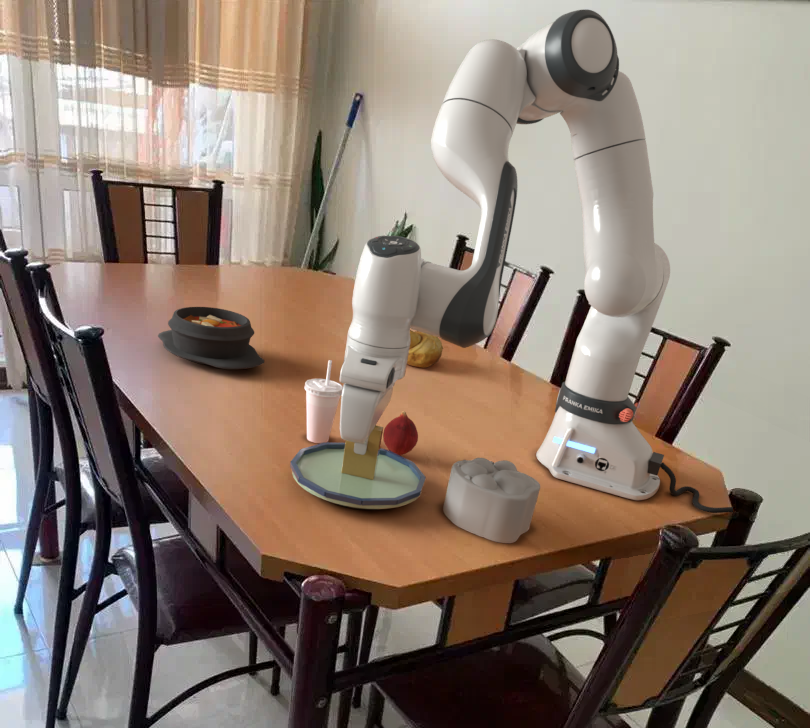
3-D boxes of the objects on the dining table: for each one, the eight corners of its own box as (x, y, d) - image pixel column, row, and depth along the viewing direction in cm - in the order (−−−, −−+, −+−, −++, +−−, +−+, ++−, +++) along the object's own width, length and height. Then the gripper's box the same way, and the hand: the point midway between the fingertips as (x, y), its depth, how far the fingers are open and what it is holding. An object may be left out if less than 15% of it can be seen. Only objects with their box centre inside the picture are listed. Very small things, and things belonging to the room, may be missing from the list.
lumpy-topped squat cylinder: (507, 548, 114) (522, 493, 110) (429, 515, 119) (440, 462, 115) (535, 524, 122) (549, 472, 118) (460, 494, 127) (471, 444, 123)
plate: (431, 467, 130) (441, 417, 126) (411, 521, 113) (422, 465, 109) (312, 440, 132) (318, 390, 127) (274, 489, 114) (279, 433, 110)
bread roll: (414, 351, 194) (420, 318, 190) (450, 363, 190) (456, 329, 186) (389, 361, 183) (394, 326, 179) (426, 373, 180) (433, 338, 176)
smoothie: (321, 449, 133) (331, 368, 127) (291, 437, 136) (299, 357, 129) (343, 440, 138) (354, 361, 132) (313, 428, 141) (323, 350, 134)
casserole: (284, 371, 165) (288, 331, 161) (210, 383, 152) (212, 339, 148) (210, 335, 178) (212, 297, 174) (135, 343, 165) (135, 301, 161)
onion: (420, 459, 137) (429, 415, 133) (398, 466, 133) (406, 421, 129) (396, 446, 140) (403, 403, 136) (373, 452, 136) (380, 408, 132)
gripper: (369, 337, 122) (357, 421, 129) (337, 373, 105) (324, 469, 111) (409, 345, 122) (395, 430, 129) (384, 384, 104) (368, 479, 111)
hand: (362, 448), depth 120 cm, fingers closed on plate, 2 cm apart
